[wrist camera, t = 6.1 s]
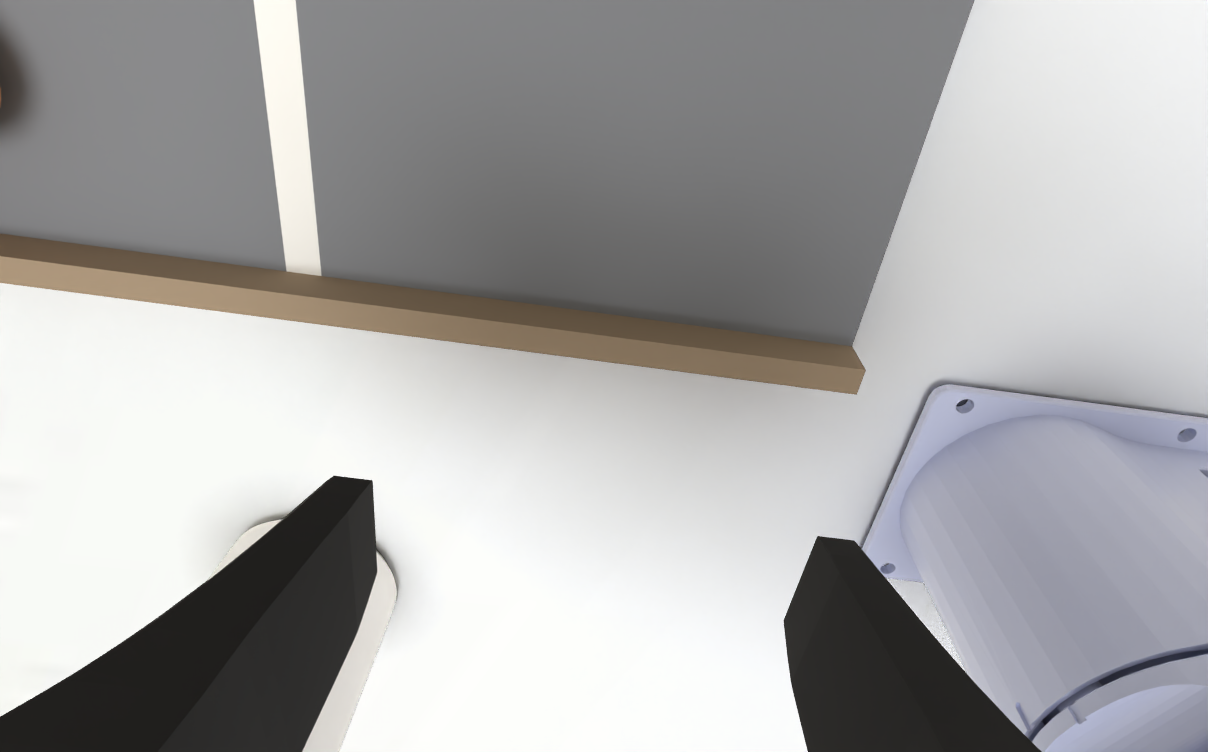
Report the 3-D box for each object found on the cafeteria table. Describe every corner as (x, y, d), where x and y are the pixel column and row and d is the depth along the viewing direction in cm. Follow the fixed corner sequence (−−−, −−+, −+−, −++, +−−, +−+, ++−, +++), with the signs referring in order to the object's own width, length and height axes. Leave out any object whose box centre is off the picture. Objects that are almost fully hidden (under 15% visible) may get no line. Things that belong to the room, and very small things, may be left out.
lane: (996, -97, 15) (1057, -110, 13) (838, 360, 21) (861, 404, 19) (-263, -287, 14) (-425, -335, 12) (-58, 241, 20) (-141, 273, 18)
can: (377, 506, 25) (188, 889, 14) (417, 626, 28) (287, 1009, 18) (208, 513, 25) (-92, 886, 15) (267, 630, 28) (54, 1003, 18)
